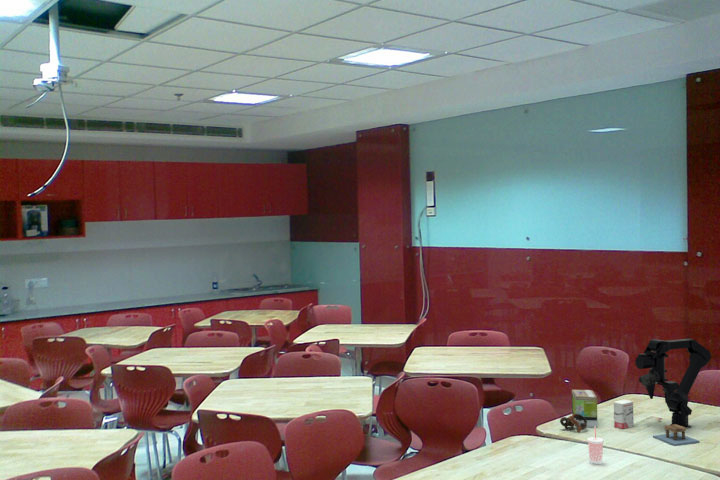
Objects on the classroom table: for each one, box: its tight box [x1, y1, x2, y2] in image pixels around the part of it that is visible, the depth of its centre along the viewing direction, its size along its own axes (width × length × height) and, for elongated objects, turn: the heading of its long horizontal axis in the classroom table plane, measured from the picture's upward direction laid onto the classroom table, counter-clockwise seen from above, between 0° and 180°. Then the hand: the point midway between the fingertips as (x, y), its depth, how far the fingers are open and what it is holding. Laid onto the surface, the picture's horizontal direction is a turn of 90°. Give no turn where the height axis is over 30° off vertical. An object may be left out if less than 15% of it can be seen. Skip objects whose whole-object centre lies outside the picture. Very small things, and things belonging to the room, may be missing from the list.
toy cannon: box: [559, 414, 587, 433], centre depth 305 cm, size 12×10×8 cm
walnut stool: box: [664, 424, 687, 441], centre depth 286 cm, size 6×6×5 cm
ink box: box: [613, 399, 635, 430], centre depth 308 cm, size 9×5×12 cm, turn 123°
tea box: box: [571, 389, 598, 429], centre depth 315 cm, size 15×10×15 cm
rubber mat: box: [652, 432, 700, 447], centre depth 286 cm, size 13×13×1 cm
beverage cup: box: [586, 427, 604, 465], centre depth 261 cm, size 6×6×14 cm
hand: (659, 401), depth 303 cm, fingers open, 9 cm apart
